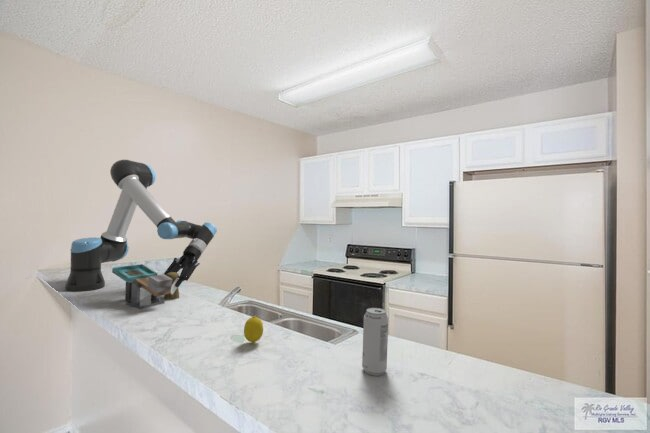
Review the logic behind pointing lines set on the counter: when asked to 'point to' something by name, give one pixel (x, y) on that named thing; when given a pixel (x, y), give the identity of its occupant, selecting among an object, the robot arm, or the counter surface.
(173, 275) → the olive chess piece
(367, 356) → the energy drink can
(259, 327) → the lemon
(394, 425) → the counter surface
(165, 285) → the balance beam
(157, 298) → the beam stand
